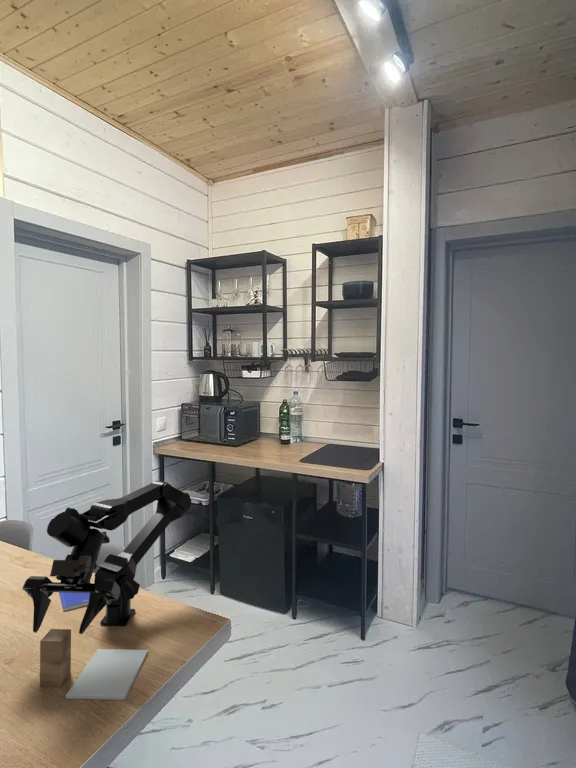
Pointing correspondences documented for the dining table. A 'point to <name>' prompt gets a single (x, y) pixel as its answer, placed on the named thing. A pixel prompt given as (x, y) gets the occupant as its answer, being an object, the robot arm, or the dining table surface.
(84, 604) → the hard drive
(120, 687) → the mat
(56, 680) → the walnut block
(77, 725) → the dining table surface
